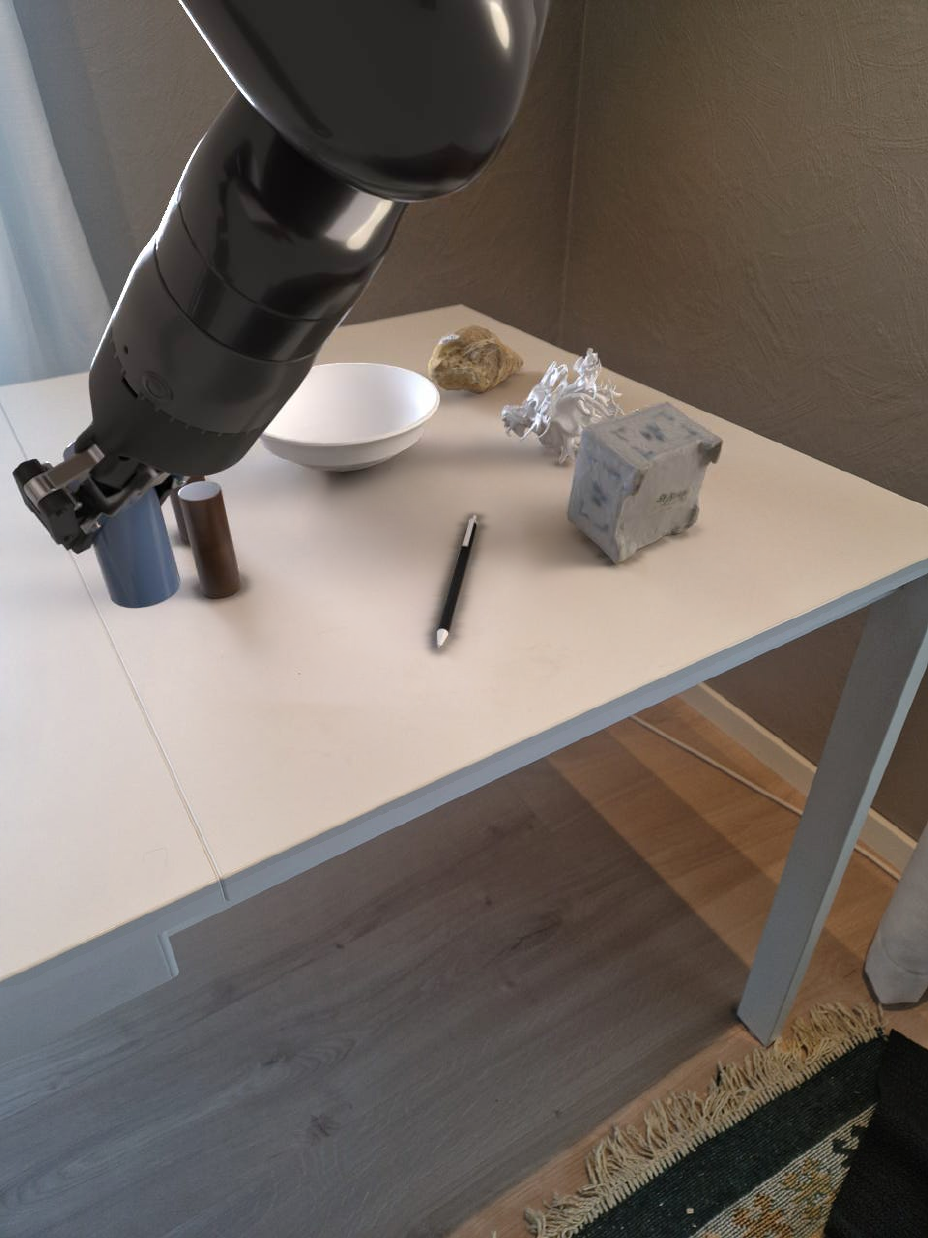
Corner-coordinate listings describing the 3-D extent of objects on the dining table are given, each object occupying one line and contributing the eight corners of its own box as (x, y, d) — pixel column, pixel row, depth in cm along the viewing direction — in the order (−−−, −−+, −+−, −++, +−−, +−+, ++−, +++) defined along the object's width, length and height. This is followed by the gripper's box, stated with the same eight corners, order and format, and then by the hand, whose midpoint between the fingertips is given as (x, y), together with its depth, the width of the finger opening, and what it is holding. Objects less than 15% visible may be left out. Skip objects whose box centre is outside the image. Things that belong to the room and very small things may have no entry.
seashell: (508, 407, 109) (466, 364, 111) (547, 356, 105) (503, 311, 106) (454, 412, 98) (408, 363, 99) (496, 354, 94) (447, 305, 95)
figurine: (499, 398, 94) (560, 308, 87) (610, 468, 97) (677, 386, 91) (491, 451, 84) (559, 353, 77) (616, 526, 87) (691, 439, 81)
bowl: (472, 434, 93) (472, 377, 89) (383, 522, 79) (378, 458, 75) (317, 405, 100) (310, 351, 96) (209, 481, 86) (195, 421, 82)
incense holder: (625, 573, 72) (638, 460, 66) (562, 529, 77) (569, 421, 71) (709, 537, 76) (729, 427, 70) (644, 498, 82) (657, 393, 75)
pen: (479, 521, 79) (479, 510, 79) (444, 652, 64) (444, 640, 64) (469, 520, 79) (469, 509, 79) (433, 651, 64) (432, 639, 64)
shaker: (114, 616, 48) (66, 471, 43) (105, 580, 51) (59, 439, 46) (186, 597, 49) (149, 454, 44) (174, 563, 52) (137, 424, 47)
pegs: (206, 602, 70) (182, 504, 64) (177, 531, 78) (154, 440, 73) (245, 592, 71) (225, 495, 65) (212, 523, 79) (192, 432, 74)
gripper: (275, 234, 40) (163, 420, 53) (-9, 322, 31) (-60, 520, 44) (373, 368, 41) (239, 519, 54) (124, 492, 32) (35, 638, 45)
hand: (105, 519), depth 49 cm, fingers closed on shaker, 4 cm apart
